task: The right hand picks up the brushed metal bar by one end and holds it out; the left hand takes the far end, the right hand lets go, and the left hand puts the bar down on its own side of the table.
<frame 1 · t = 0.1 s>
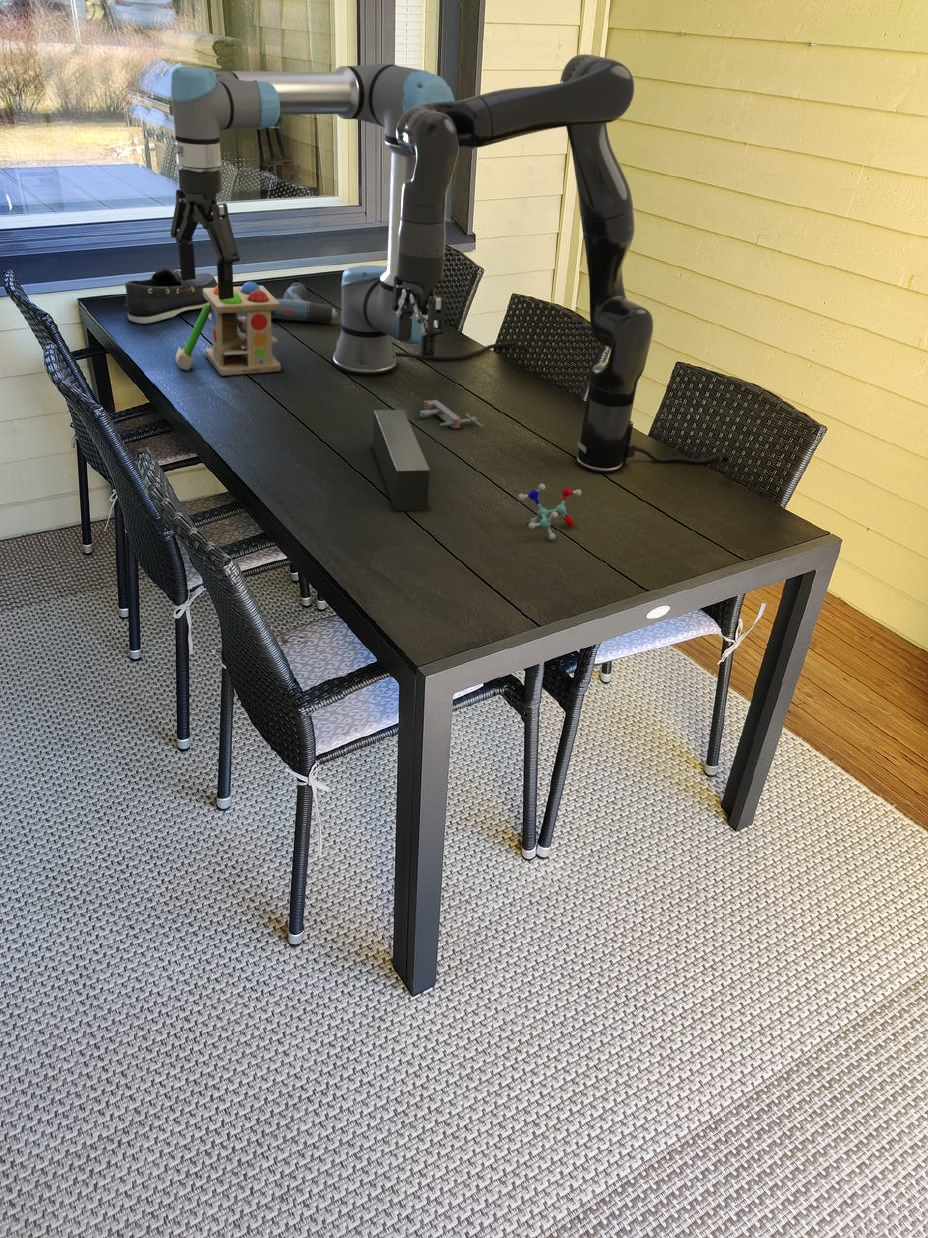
left hand: (207, 288, 186), 28 cm above the table, tool pointing down, fingers open, 13 cm apart
right hand: (415, 348, 165), 29 cm above the table, tool pointing down, fingers open, 8 cm apart
power drill: (305, 313, 267), on the table
clamp: (448, 422, 213), on the table
bar: (398, 477, 190), on the table
molecular model: (544, 527, 177), on the table
pounding bench toy: (225, 365, 230), on the table
boat shoe: (174, 307, 262), on the table
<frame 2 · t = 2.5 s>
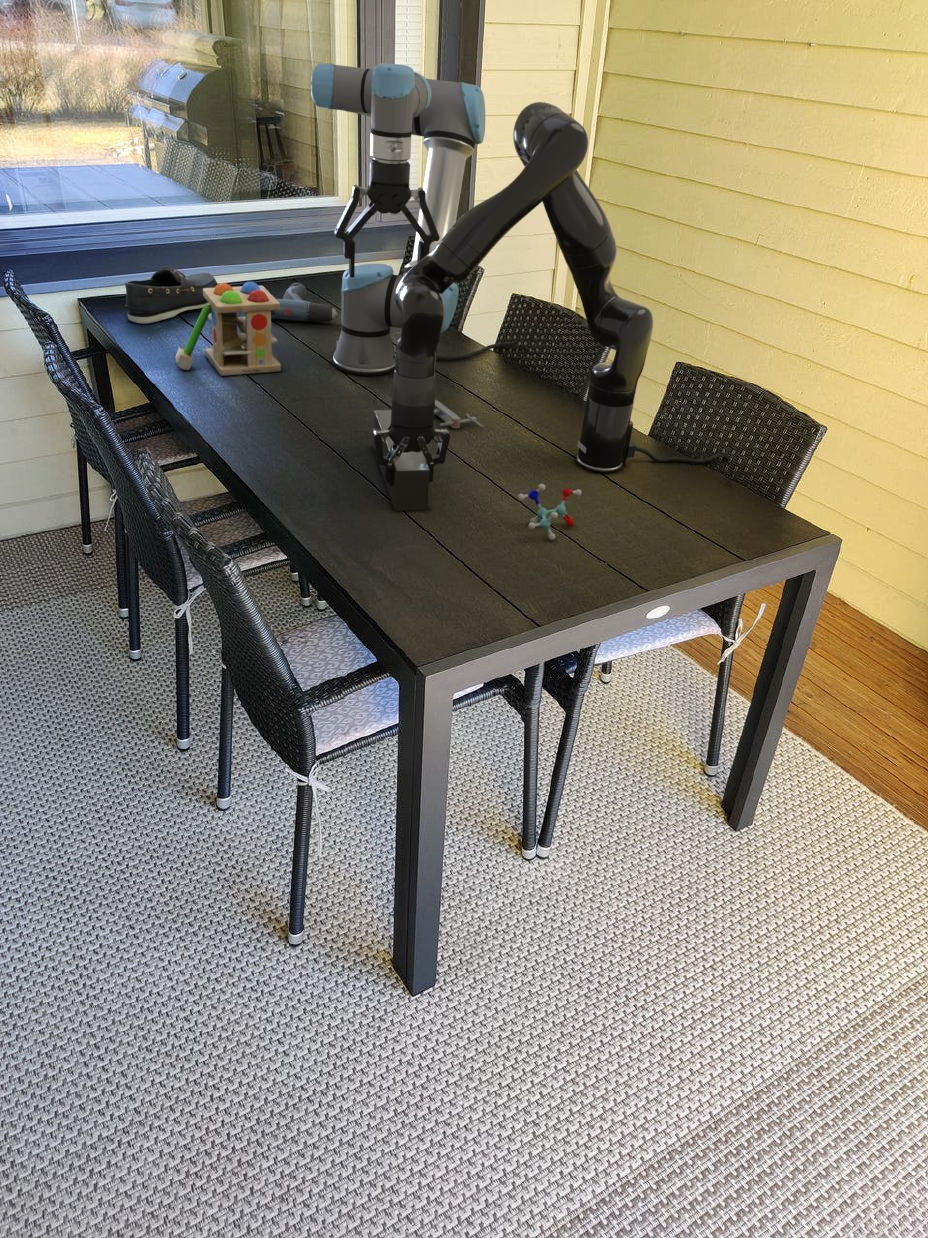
left hand: (385, 276, 194), 30 cm above the table, tool pointing down, fingers open, 13 cm apart
right hand: (408, 483, 179), 4 cm above the table, tool pointing down, fingers closed on bar, 6 cm apart
bar: (398, 477, 190), on the table, touching right hand
everything else where it was.
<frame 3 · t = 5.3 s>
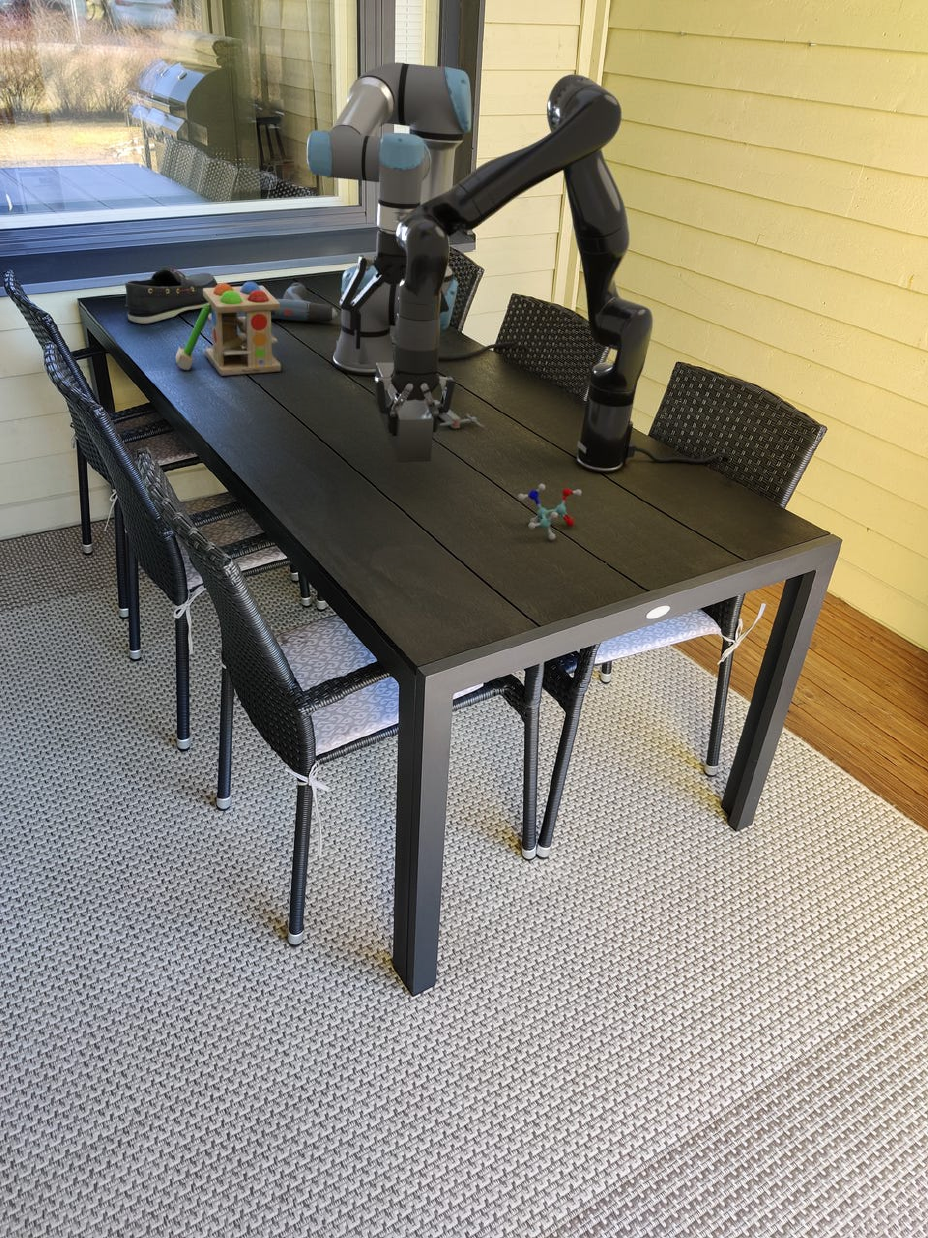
left hand: (392, 347, 187), 22 cm above the table, tool pointing down, fingers open, 13 cm apart
right hand: (412, 433, 174), 13 cm above the table, tool pointing down, fingers closed on bar, 6 cm apart
bar: (401, 430, 184), point 10 cm above the table, touching right hand
everything else where it was.
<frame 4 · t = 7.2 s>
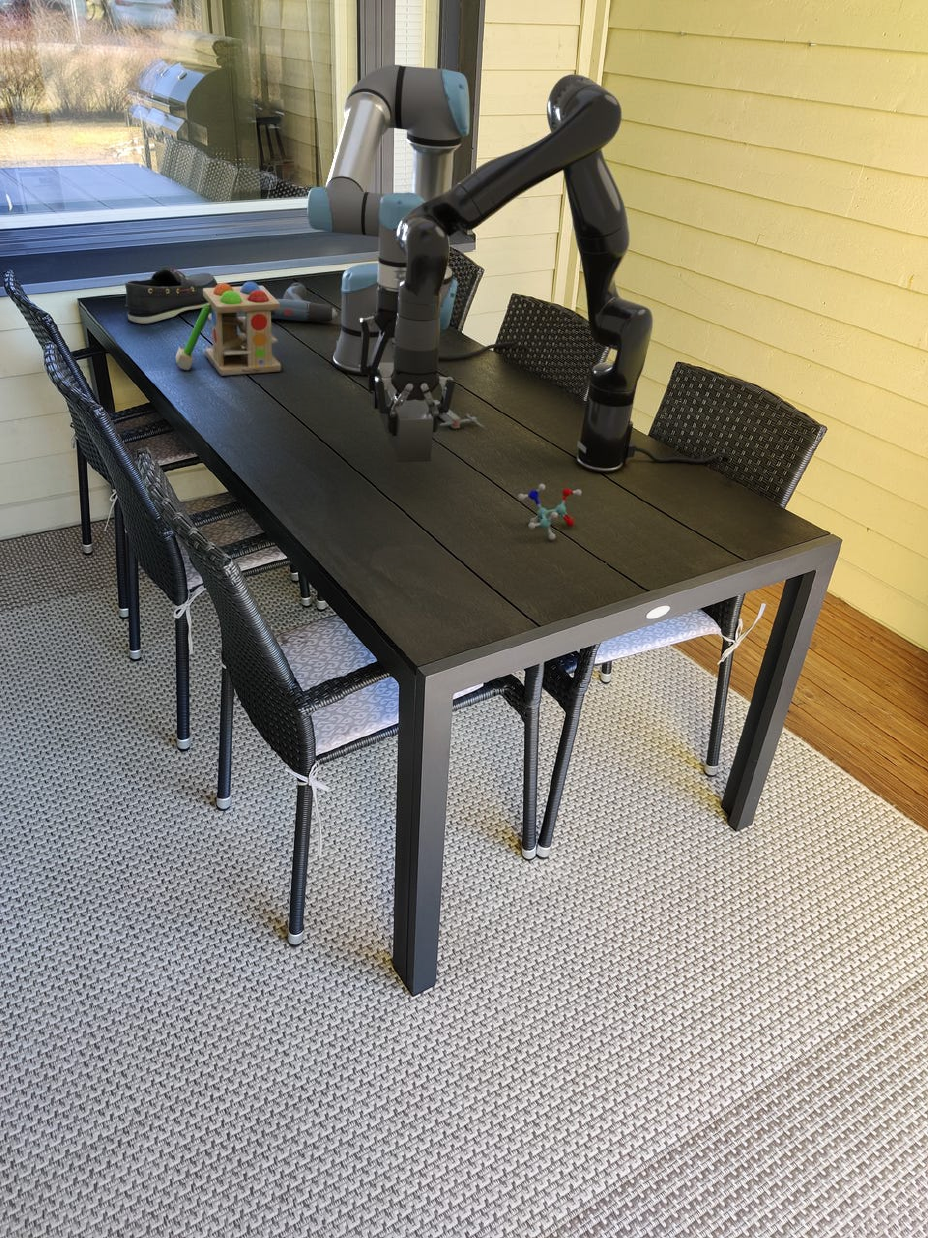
left hand: (392, 405, 192), 10 cm above the table, tool pointing down, fingers closed on bar, 6 cm apart
right hand: (411, 433, 174), 13 cm above the table, tool pointing down, fingers closed on bar, 6 cm apart
bar: (401, 430, 184), point 10 cm above the table, touching left hand, right hand
everything else where it was.
when the right hand's fingers open (13 cm above the table, at t = 8.2 s): bar stays where it is, held by the left hand.
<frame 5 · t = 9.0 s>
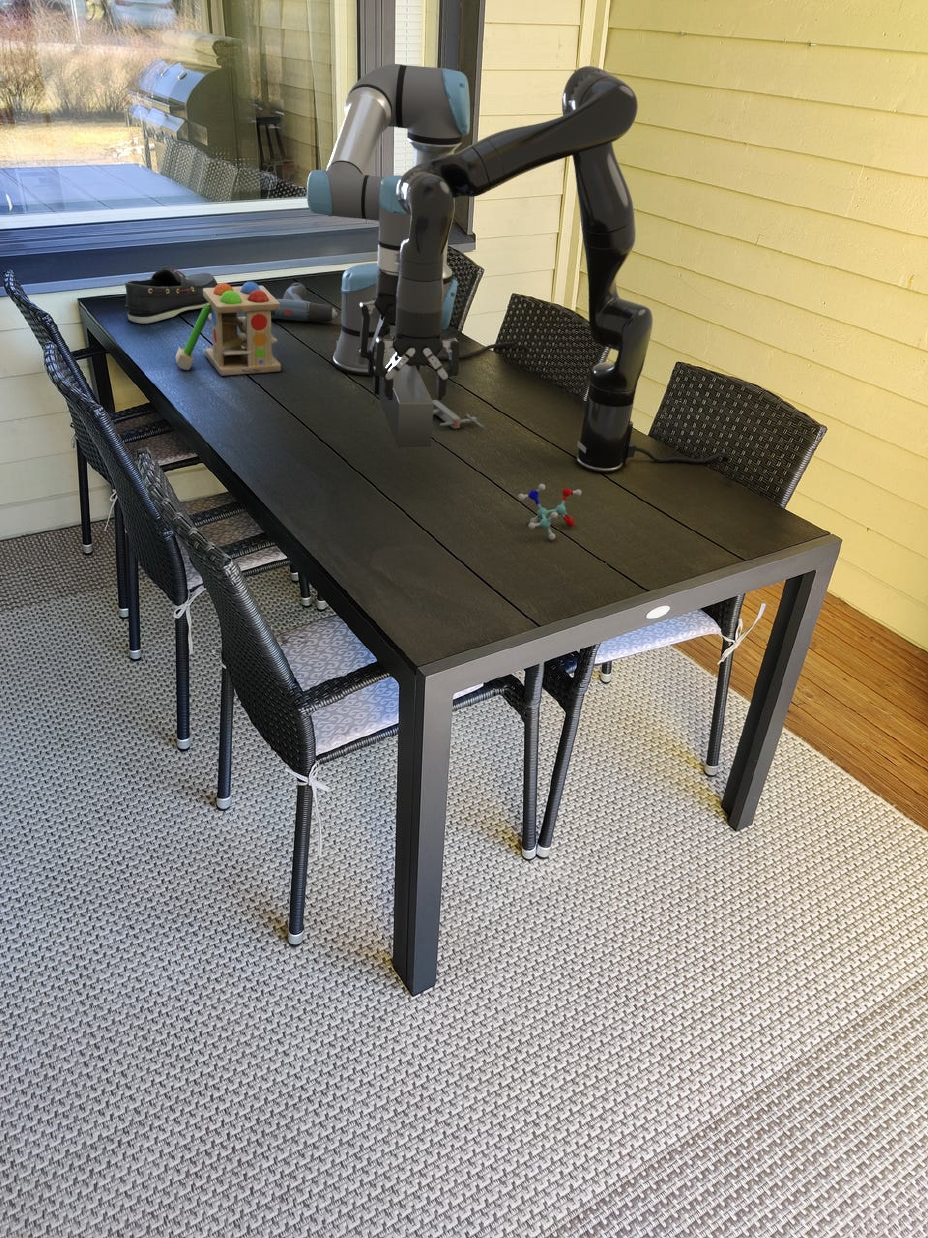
left hand: (392, 391, 190), 13 cm above the table, tool pointing down, fingers closed on bar, 6 cm apart
right hand: (414, 398, 168), 21 cm above the table, tool pointing down, fingers open, 8 cm apart
bar: (401, 415, 183), point 13 cm above the table, touching left hand
everything else where it was.
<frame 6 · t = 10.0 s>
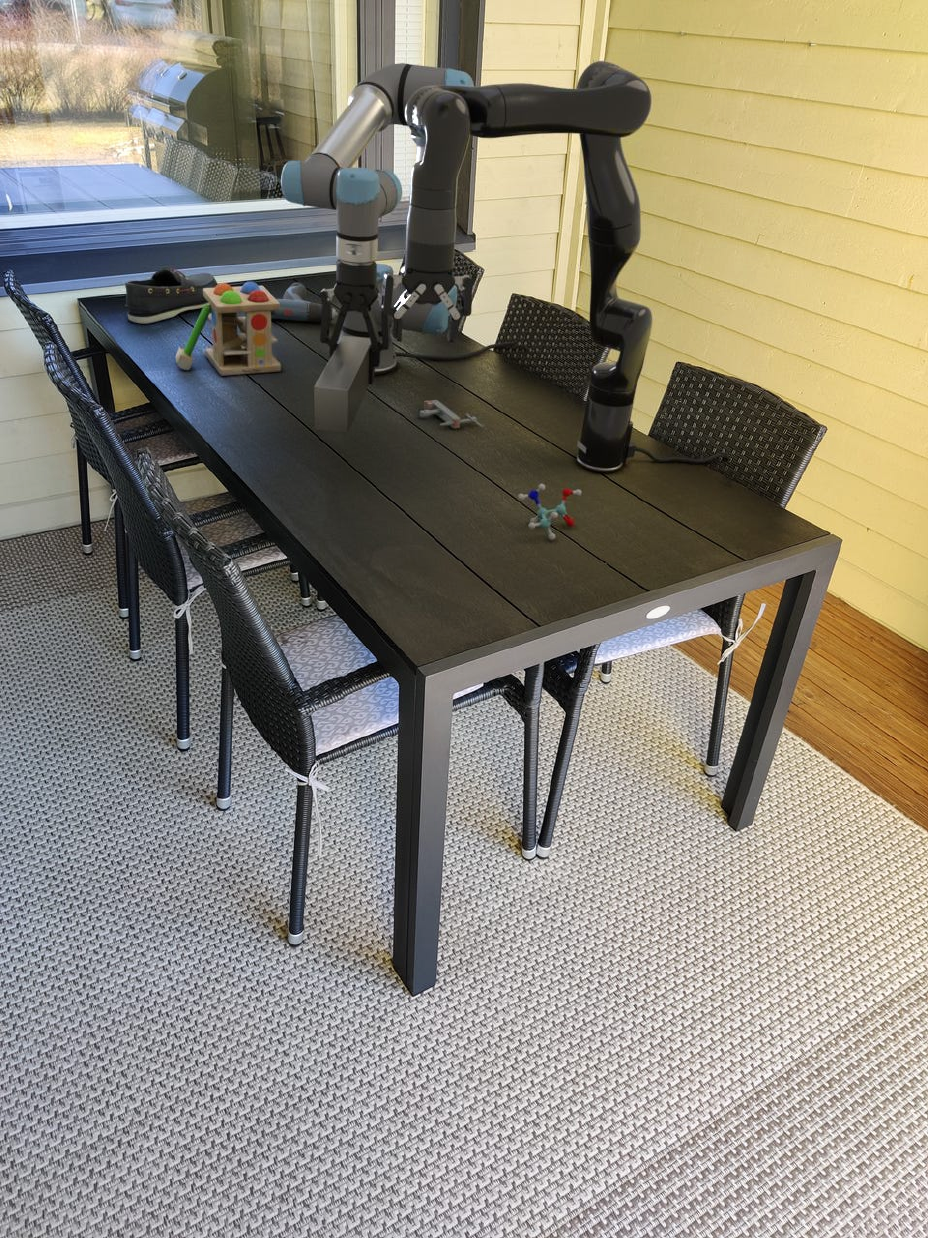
left hand: (354, 379, 195), 13 cm above the table, tool pointing down, fingers closed on bar, 6 cm apart
right hand: (424, 340, 159), 32 cm above the table, tool pointing down, fingers open, 8 cm apart
bar: (345, 402, 186), point 12 cm above the table, touching left hand
everything else where it was.
when the left hand's fingers open (2 cm above the table, at t = 13.2 s): bar drops 1 cm, on the table.
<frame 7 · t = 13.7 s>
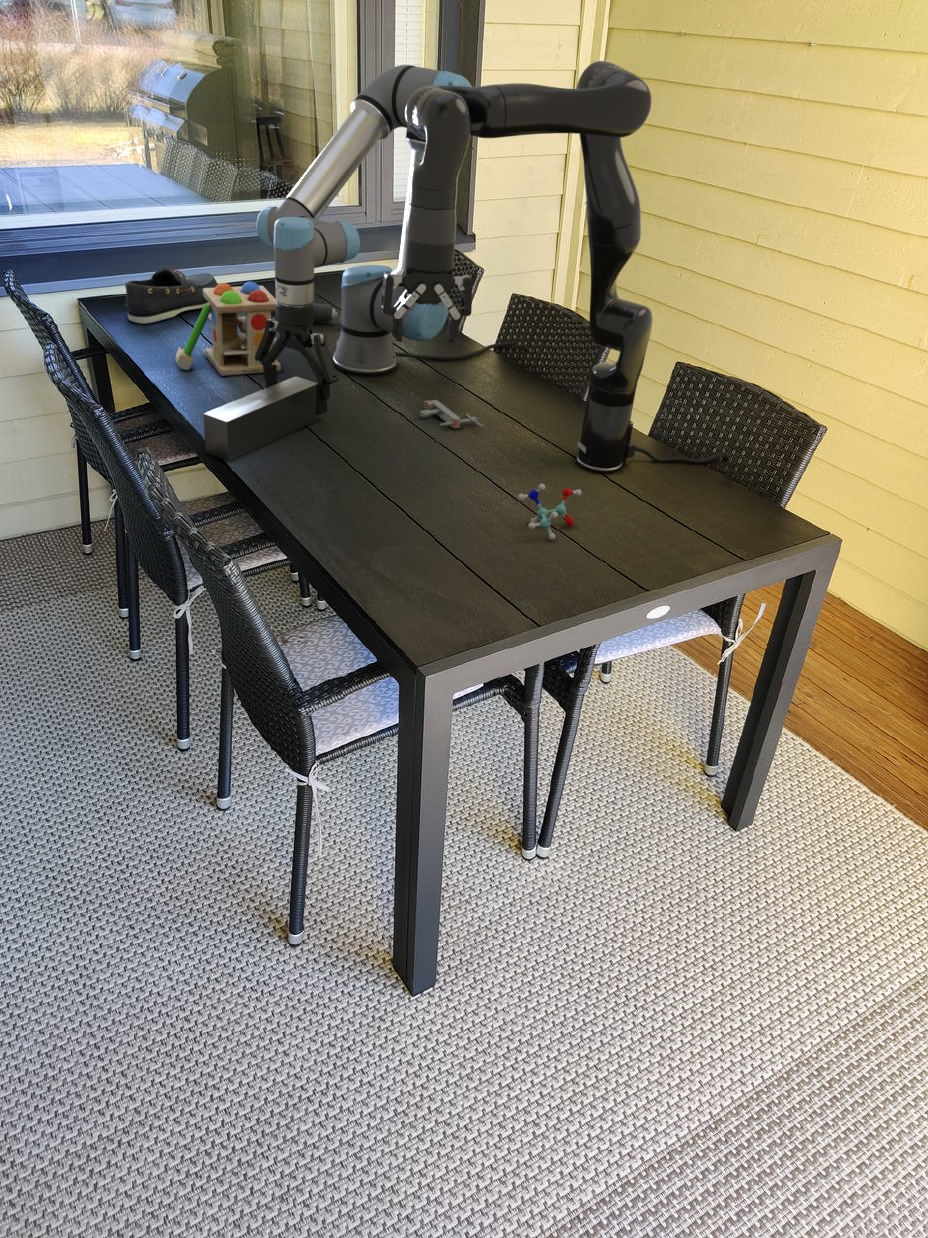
left hand: (296, 404, 205), 4 cm above the table, tool pointing down, fingers open, 13 cm apart
right hand: (424, 340, 159), 32 cm above the table, tool pointing down, fingers open, 8 cm apart
bar: (264, 435, 200), on the table
everything else where it was.
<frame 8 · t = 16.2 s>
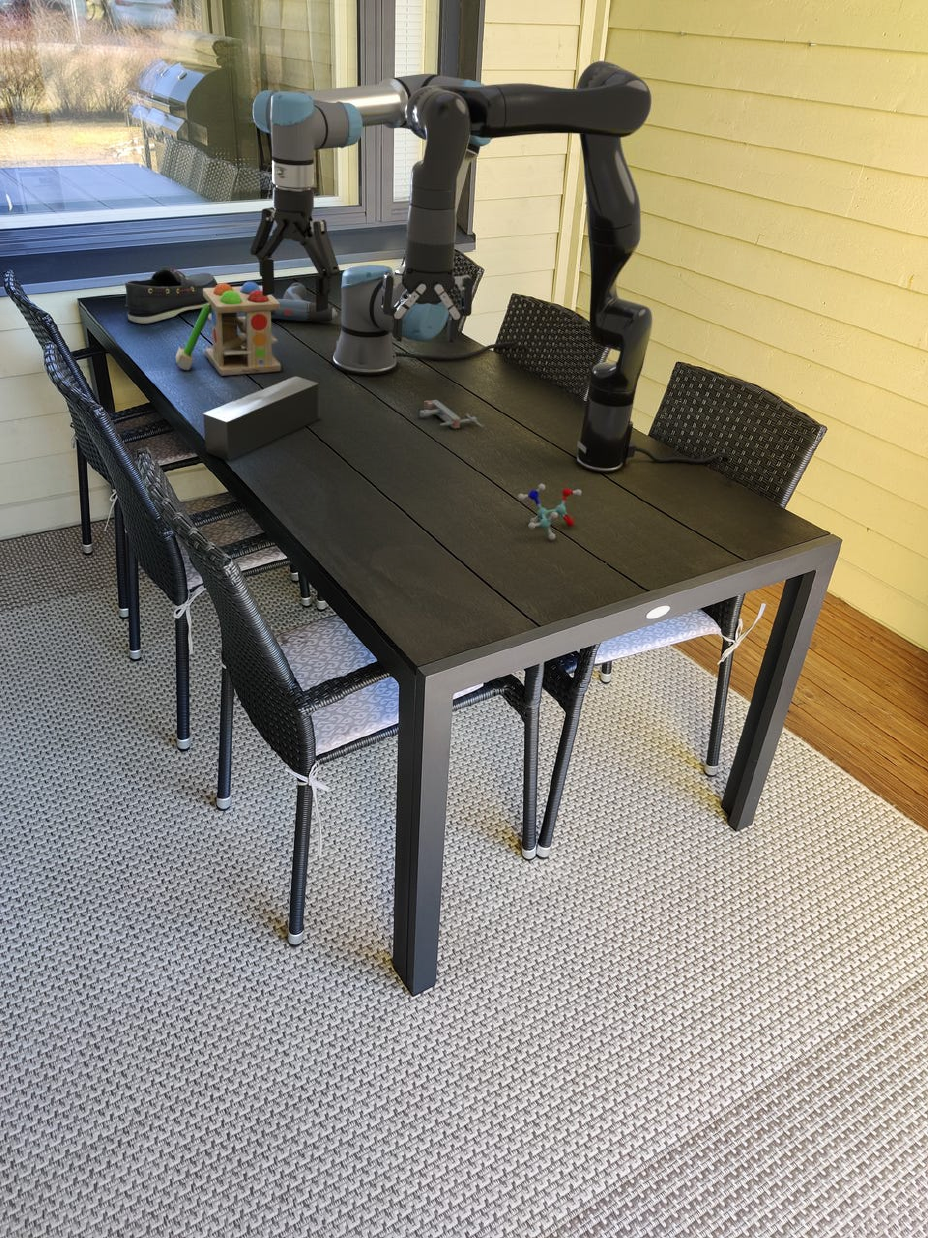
left hand: (294, 302, 193), 25 cm above the table, tool pointing down, fingers open, 13 cm apart
right hand: (424, 340, 159), 32 cm above the table, tool pointing down, fingers open, 8 cm apart
nothing on the table moved.
at the end: bar inside the target area (10.1 cm from its centre), on the table; the left hand is holding nothing; the right hand is holding nothing; bar at rest at the end (0.0 cm/s) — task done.
